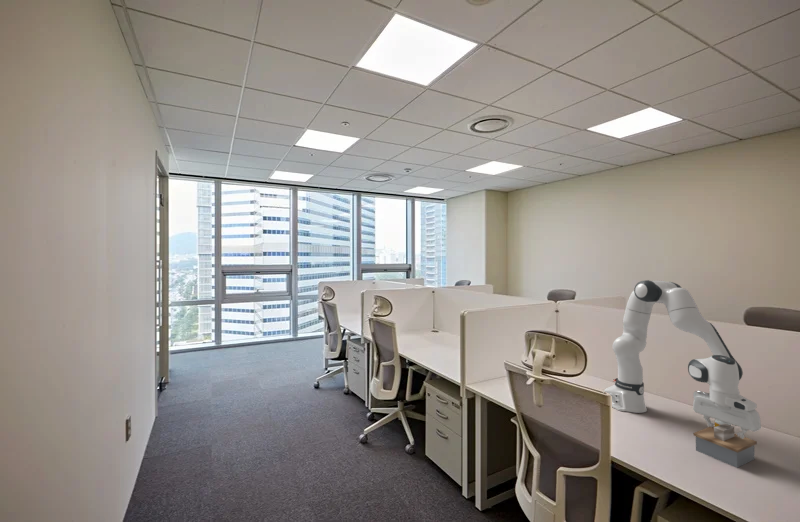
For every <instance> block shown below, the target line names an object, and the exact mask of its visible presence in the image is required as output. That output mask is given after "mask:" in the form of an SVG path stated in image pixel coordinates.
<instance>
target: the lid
mask: <svg viewBox="0 0 800 522" xmlns="http://www.w3.org/2000/svg"><path fill="white" fill-rule="evenodd" d="M693 436H694V437H695V438H696V437H699V438H701V439H704V440H707V441H709V442H712V443H714V444H717V445H719V446H722V447H724V448H727V449H730V450H732V451H735V452H737V453H739V452H741V451H743V450H745V449H747V448H749V447H751V446H753V445H754V446H756V445H757V444H758V442H757V441H756V440H754V439H751V438H748V437H745V436H744V438H743V439H741V438H738V437H737V433H735V425H732V424H731V425H728V424H725V423H724V424H722V425H719V426H717V427H715V425H714V428H710V427H706V428H703V429H701V430H697V431H695V432H693Z"/></svg>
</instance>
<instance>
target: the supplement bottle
mask: <svg viewBox="0 0 800 522" xmlns="http://www.w3.org/2000/svg"><path fill="white" fill-rule="evenodd" d="M724 423H725V424H728V425H731V426H732V424H729V423H726V422H723V421H720V420H717V419H714V426H715V427H717V426H719V425H722V424H724Z"/></svg>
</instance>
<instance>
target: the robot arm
mask: <svg viewBox="0 0 800 522" xmlns="http://www.w3.org/2000/svg"><path fill="white" fill-rule="evenodd" d="M656 304H663V305H665V308H666V311H667V314H668V316H669V320H670V322H671V323H672V325H673V326H674V327H675V328H677V329H679V330H681V331H684V332H686V333H690V334H693V335H695V336H698V337H699V338H701V339H703V340H704V342H705V343H706V345H707V347H708V348H709V350H710V351H711V353H712V355H711V356H709V357H706V358H695V359H691V360H690V361H689V362H688V364H687V371H688V374H689V376H690V377H691V378H692V380H695V381H696V382H699V383H704V384H705V383H707V384H709V385H708V386H709V389H708V391H709V392H704V391H701V390H697V391H696V390H695V391H694V392H693V397H692V398H693V403H692V410H693V411H694V413H696V414H700V415H701V416H703V420H704V421H705V422H706V423H707V425H706V426H707V427H706V428H708V427H710V428H714V426H715V422H712V421H711V419H710V418H712V419H714V420H715V419H717V420H720V421H723V422H726V423H729V424H731V426H734V427H735V426H736V427H739V428H740V431H738V432H737V433H736V434H737V437H738V438H741V439H743V438H744V437H745V434H746V433H747V432H748V431H750V432H758V431H760V430H761V429H762V421H761V416H760V413H759V412H758V411H757V407H758V405H757V403H756V402H754V401H753V400H750V399H748V398H747V397H745V396H743V395H741V393H740V389H739V384H740V381H741V380H742V378H743V375H744V372H743V368H742V367H741V365H740V363H738V361H737V360H736V359H735V357H734V356H733V355H732V353H731V352H730V349H728V346H727V345H726V343H725V342H724V339H723V338H722V336H721V335H720V333H719V332H718V330H717V328H716V327H715V326H714V325H713V324H712V323H711V322H709V321H708V320H707V319H706V318H705V317H704V316H703V315H702V314H701V312H700V310H699V308H698V305H697V303H696V301H695V299H694V298H693V296H692V295H691V293H690V291H689V290H688V289H686V288H683V287H682V286H681V285H679V284H678V283H676V282H673V281H665V280H650V279H647V280H641V281H639V282H637V283H636V284H635V285H634V289H633V290H632V291H631V293H630V295H629V298H628V299H627V302H626V306H625V309H624V310H625V311H624V314H623V319H622V324H623V327H622V334H621V336H618V337H616V338H615V339H614V340H613V343H612V345H611V347H612V351H613V353H614V355H615V359H616V364H617V378H614V379H613V380H612V382H614V384H613V385H610V386H608V387H606V388H605V389H604V390H603V392H604V391H605V392H607V393H609V394H610V395H611V396H612V407H611V408H613V409H614V410H617V411H620V412H628V413H637V414H638V413H639V414H641V413H646V412H647V411H648V409H647V406H646V405H647V404H646V402H645V395H644V392H645V383H644V381H643V380H644V375H643V366H642V364H641V360H640V353H641V352H643V351H644V350H645V348H646V347H647V346H646V345H647V338H648V336H647V335H648V327H649V322H650V318H651V315H652V311H653V307H654V305H656Z"/></svg>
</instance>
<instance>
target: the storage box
mask: <svg viewBox="0 0 800 522" xmlns="http://www.w3.org/2000/svg"><path fill="white" fill-rule="evenodd" d="M695 451H696V452H698V453H701V454H703V455H706V456H708V457H711V458H713V459H715V460H718V461H720V462H722V463H725V464H727V465H730V466H731V467H733V468H736V469H738V468H740V467H742V466H744V465H745V464H748V463H749V462H752V461H754V460H755V455H756V454H755V445H753V446H751V447H749V448H747V449H745V450H743V451H741V452H739V453H737V452H735V451H732V450H730V449H727V448H724V447H722V446H719V445H717V444H714V443H712V442H709V441H707V440H704V439H701V438H699V437H696V436H695Z"/></svg>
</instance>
